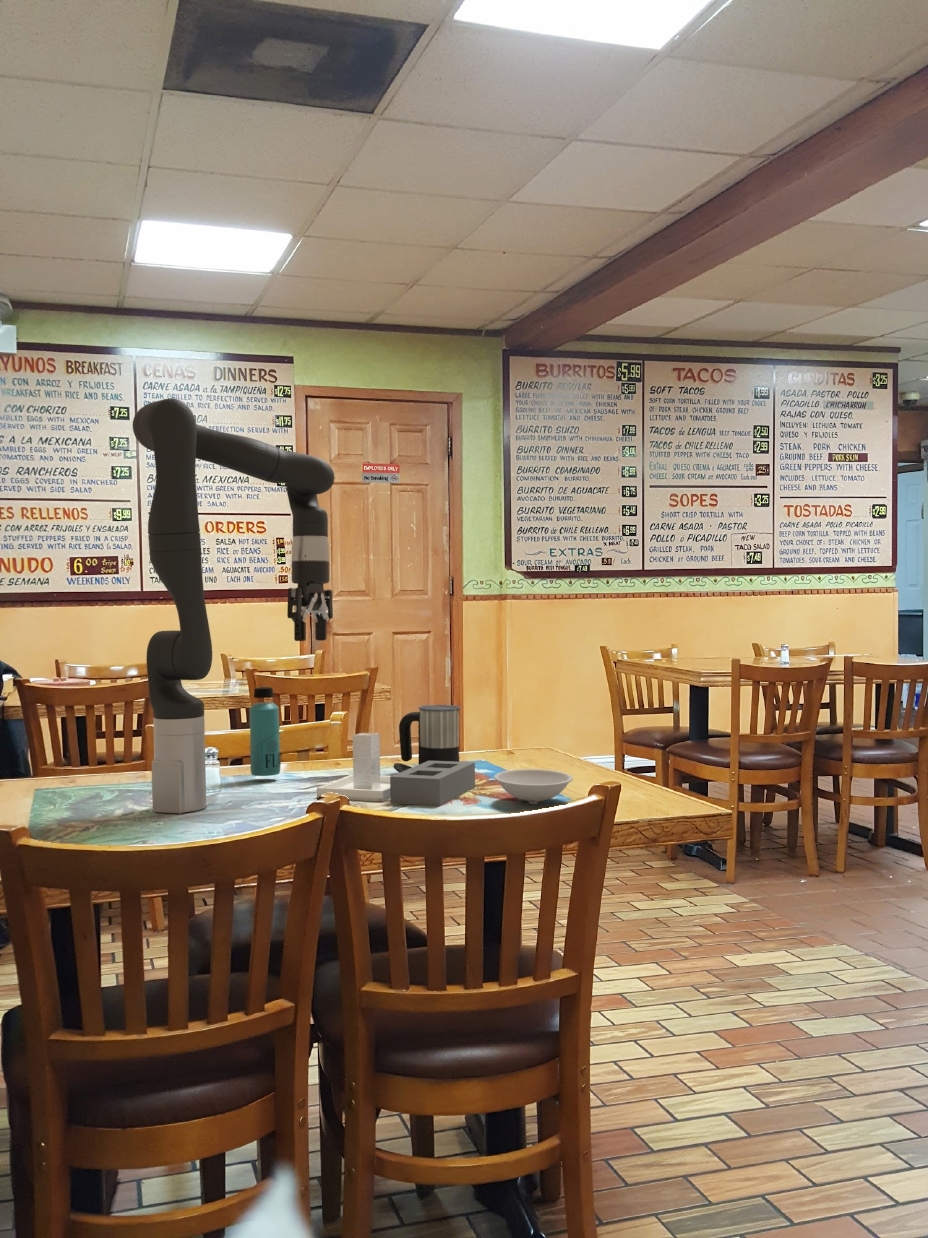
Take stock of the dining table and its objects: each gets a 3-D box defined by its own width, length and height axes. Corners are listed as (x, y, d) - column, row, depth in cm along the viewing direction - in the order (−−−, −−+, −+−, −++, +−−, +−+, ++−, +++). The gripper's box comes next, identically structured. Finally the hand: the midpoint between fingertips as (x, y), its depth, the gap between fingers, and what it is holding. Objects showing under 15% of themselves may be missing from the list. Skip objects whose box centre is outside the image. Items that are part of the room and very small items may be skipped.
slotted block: (440, 806, 199) (439, 779, 199) (390, 803, 202) (390, 776, 202) (475, 787, 218) (474, 762, 217) (429, 784, 221) (428, 760, 221)
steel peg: (372, 791, 211) (371, 735, 211) (353, 790, 212) (352, 735, 212) (380, 788, 215) (379, 733, 214) (362, 787, 216) (361, 732, 216)
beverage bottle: (264, 784, 225) (262, 689, 224) (243, 781, 229) (241, 687, 228) (287, 779, 230) (285, 686, 229) (266, 776, 234) (264, 685, 233)
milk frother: (462, 770, 238) (461, 704, 238) (460, 783, 223) (458, 711, 222) (398, 771, 239) (397, 704, 239) (391, 783, 223) (390, 712, 223)
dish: (484, 797, 207) (484, 771, 207) (556, 792, 210) (555, 767, 210) (508, 815, 190) (508, 787, 190) (585, 810, 193) (585, 782, 193)
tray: (382, 801, 204) (382, 791, 204) (316, 798, 208) (316, 787, 208) (414, 786, 219) (414, 777, 219) (352, 783, 223) (352, 774, 223)
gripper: (309, 557, 207) (309, 641, 207) (343, 561, 220) (344, 640, 220) (275, 558, 209) (276, 641, 209) (311, 562, 223) (311, 640, 223)
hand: (310, 640), depth 215 cm, fingers open, 8 cm apart
